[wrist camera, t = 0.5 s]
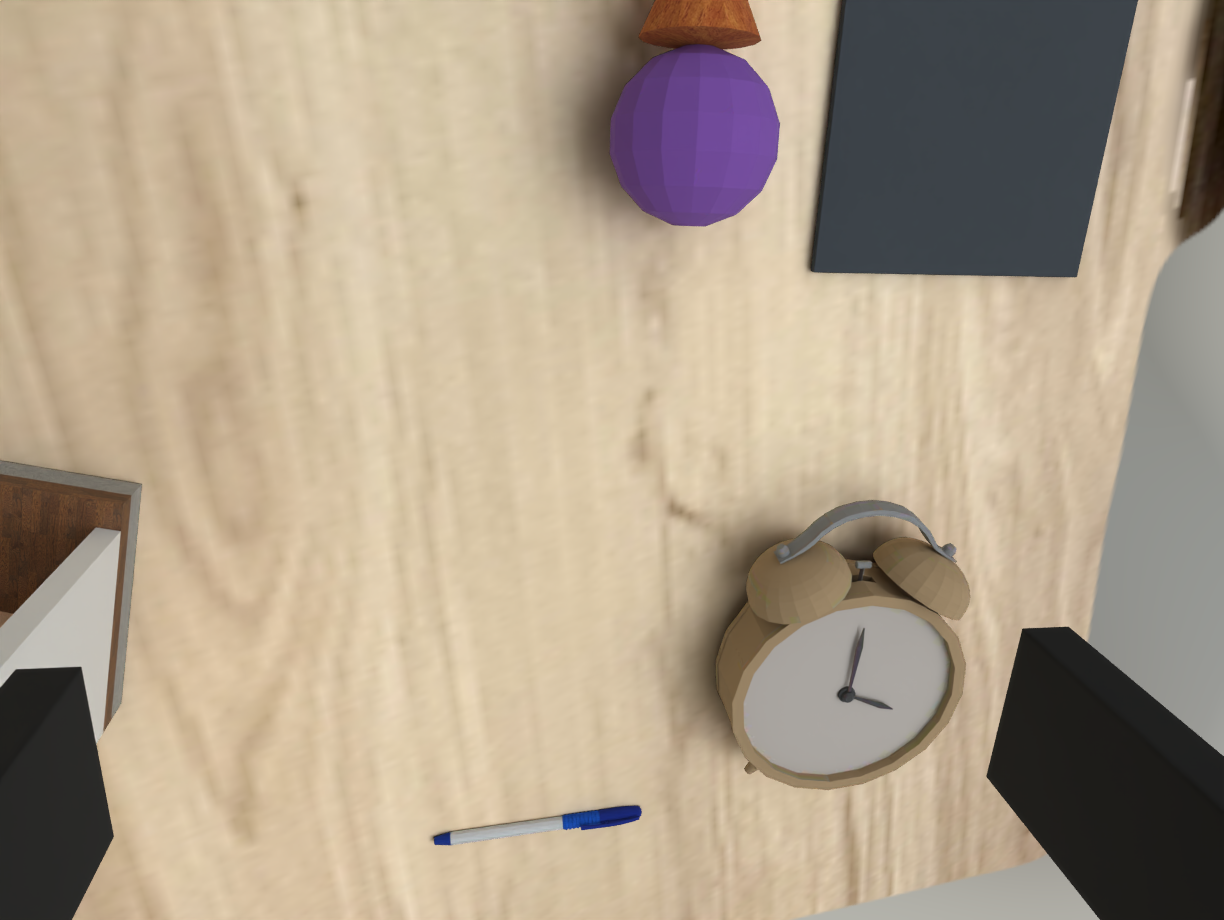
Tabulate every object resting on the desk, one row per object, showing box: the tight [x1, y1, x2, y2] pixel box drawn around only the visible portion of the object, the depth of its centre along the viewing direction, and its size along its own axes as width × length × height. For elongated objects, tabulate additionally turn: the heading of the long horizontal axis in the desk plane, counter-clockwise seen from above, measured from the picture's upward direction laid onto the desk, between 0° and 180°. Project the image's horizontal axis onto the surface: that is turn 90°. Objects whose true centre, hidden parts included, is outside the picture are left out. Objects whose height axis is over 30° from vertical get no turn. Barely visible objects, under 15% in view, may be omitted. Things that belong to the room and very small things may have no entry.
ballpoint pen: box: [434, 806, 642, 845], centre depth 44 cm, size 10×1×1 cm, turn 94°
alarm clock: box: [716, 500, 970, 790], centre depth 41 cm, size 11×5×15 cm
